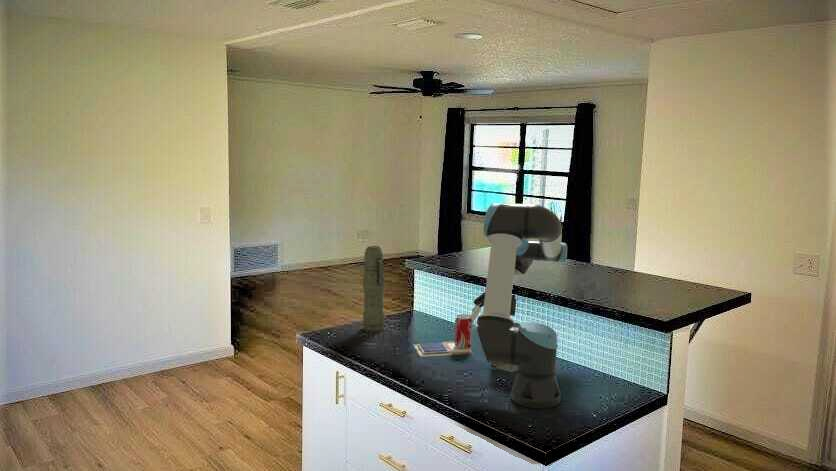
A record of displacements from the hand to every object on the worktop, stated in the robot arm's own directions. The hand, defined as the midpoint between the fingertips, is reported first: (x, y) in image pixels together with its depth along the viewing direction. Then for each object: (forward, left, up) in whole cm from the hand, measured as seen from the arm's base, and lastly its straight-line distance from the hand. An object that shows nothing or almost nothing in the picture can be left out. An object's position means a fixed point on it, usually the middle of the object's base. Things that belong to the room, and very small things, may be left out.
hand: (483, 324), depth 245 cm
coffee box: (-26, 0, -8) cm, 27 cm away
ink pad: (-5, +21, -7) cm, 23 cm away
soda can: (-5, +9, -7) cm, 13 cm away
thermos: (+27, +40, -8) cm, 49 cm away
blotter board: (-5, +15, -8) cm, 18 cm away
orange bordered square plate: (-5, +9, -7) cm, 13 cm away
